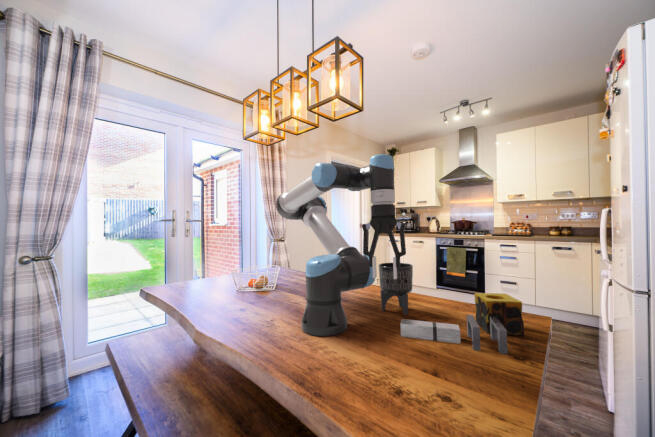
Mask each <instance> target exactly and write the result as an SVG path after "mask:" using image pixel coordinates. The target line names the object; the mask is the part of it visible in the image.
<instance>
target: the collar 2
mask: <svg viewBox="0 0 655 437" xmlns="http://www.w3.org/2000/svg"><path fill="white" fill-rule="evenodd" d="M507 336H508V335H507V330H506V329H505V328H504V326H503V325H502V324H501V323H500V321H499V320H498V319H497V318H496V317H490V339H491V340H492V341H497V350H498V352H499V354H503V355H508V337H507Z"/></svg>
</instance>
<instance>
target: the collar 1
mask: <svg viewBox="0 0 655 437" xmlns="http://www.w3.org/2000/svg"><path fill="white" fill-rule="evenodd" d="M480 330H481V329H480V325H478V323H477V322H476V317H474V314H466V331H467V332H466V333H467V337H468V338H471V342H472V344H471V346H472V350H473V351H478V352H480V351H481V331H480Z"/></svg>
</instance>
